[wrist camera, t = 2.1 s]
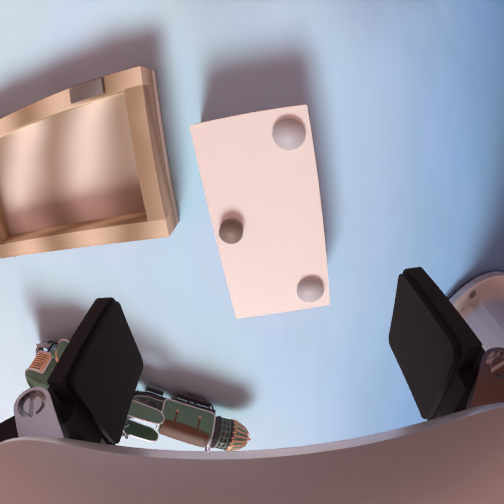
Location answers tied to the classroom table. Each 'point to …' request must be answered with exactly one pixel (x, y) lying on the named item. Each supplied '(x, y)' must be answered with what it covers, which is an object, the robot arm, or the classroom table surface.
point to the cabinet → (86, 168)
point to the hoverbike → (156, 410)
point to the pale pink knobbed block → (265, 208)
